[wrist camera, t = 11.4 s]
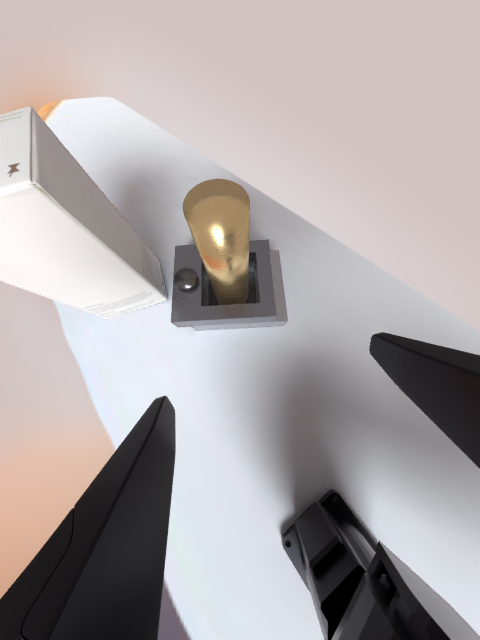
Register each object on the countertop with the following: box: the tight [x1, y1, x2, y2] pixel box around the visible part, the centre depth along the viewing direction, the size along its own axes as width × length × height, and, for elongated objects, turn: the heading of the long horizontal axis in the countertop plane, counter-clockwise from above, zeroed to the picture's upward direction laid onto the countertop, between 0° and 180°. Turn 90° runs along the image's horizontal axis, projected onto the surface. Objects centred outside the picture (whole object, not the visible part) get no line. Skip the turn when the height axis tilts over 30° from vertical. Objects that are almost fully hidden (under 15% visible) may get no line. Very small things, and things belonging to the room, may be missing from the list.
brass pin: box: [183, 179, 249, 305], centre depth 17 cm, size 4×4×13 cm
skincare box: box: [0, 106, 168, 319], centre depth 17 cm, size 8×7×16 cm
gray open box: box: [171, 240, 288, 331], centre depth 21 cm, size 12×9×5 cm
